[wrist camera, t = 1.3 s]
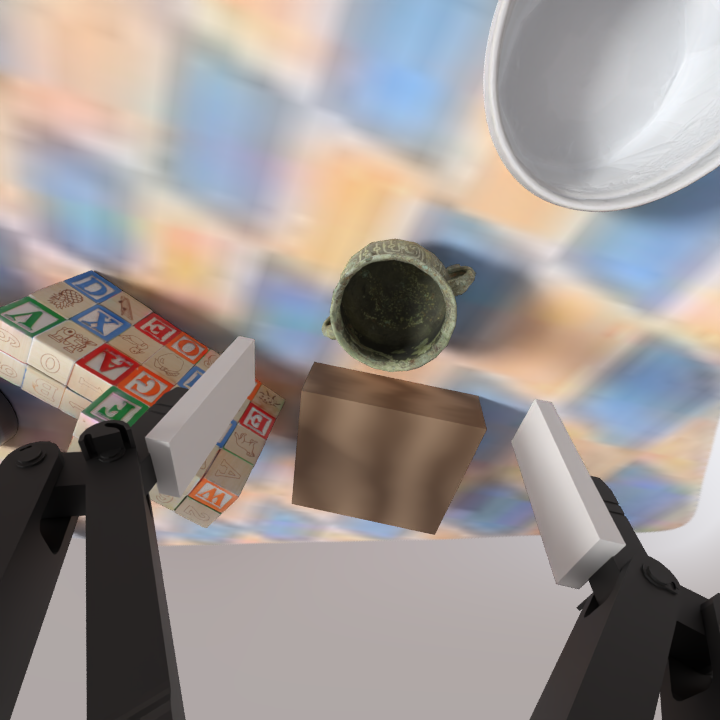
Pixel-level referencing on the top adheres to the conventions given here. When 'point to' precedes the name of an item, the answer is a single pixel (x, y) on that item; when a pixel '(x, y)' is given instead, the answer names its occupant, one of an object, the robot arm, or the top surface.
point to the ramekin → (604, 97)
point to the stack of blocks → (126, 377)
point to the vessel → (396, 305)
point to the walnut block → (383, 447)
